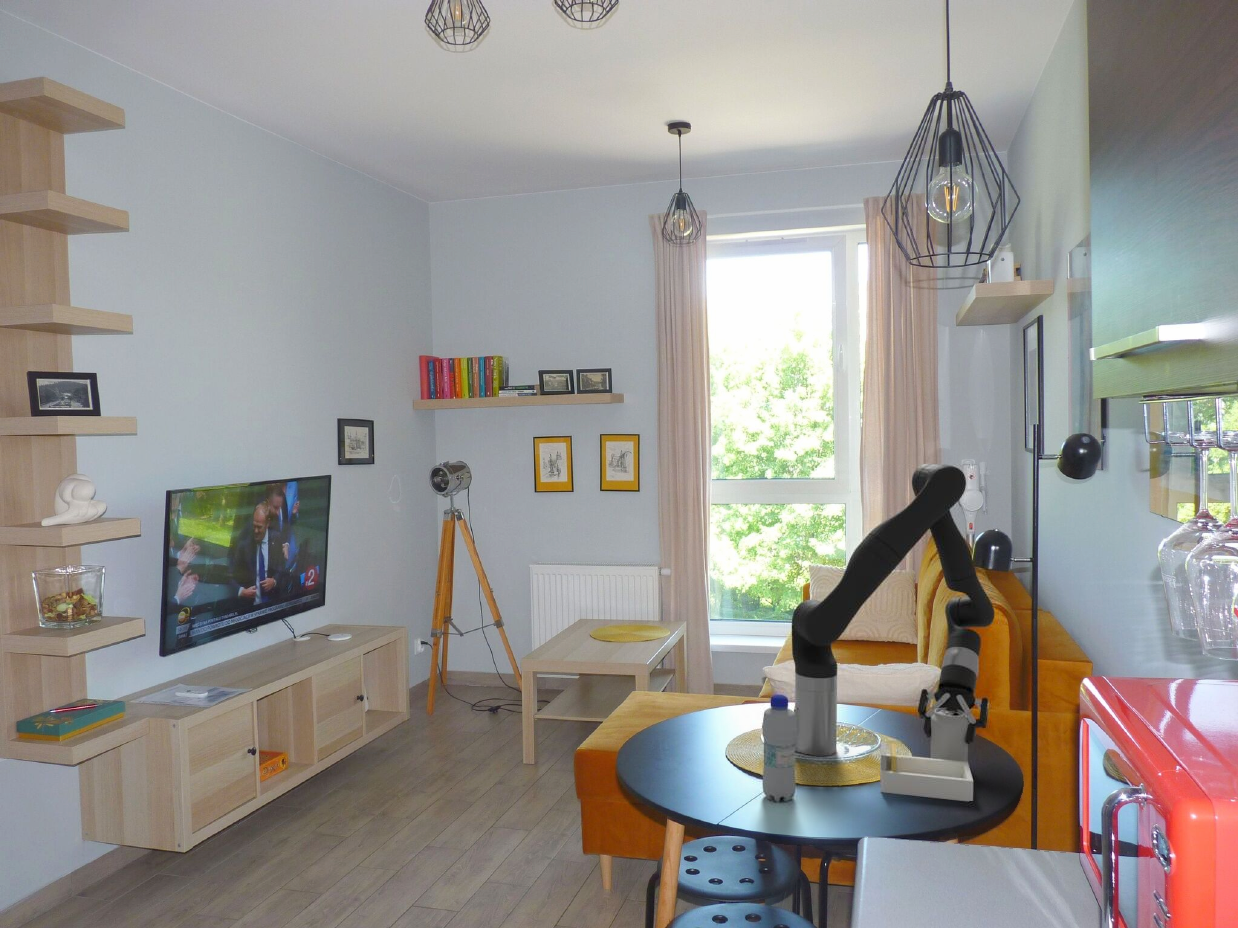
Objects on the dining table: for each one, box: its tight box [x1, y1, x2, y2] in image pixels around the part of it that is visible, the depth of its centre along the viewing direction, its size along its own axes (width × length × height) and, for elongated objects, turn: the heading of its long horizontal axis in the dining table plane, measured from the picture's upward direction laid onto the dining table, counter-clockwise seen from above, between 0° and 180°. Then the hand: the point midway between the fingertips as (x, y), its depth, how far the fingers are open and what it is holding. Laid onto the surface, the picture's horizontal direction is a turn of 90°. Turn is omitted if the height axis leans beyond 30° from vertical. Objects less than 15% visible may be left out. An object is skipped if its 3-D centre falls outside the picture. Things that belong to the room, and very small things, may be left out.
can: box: [930, 708, 969, 763], centre depth 192 cm, size 8×8×12 cm
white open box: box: [880, 740, 974, 802], centre depth 181 cm, size 17×11×7 cm, turn 74°
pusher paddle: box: [890, 743, 898, 772], centre depth 182 cm, size 1×8×6 cm, turn 164°
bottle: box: [761, 694, 797, 803], centre depth 175 cm, size 7×7×20 cm
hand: (948, 738), depth 190 cm, fingers closed on can, 7 cm apart
